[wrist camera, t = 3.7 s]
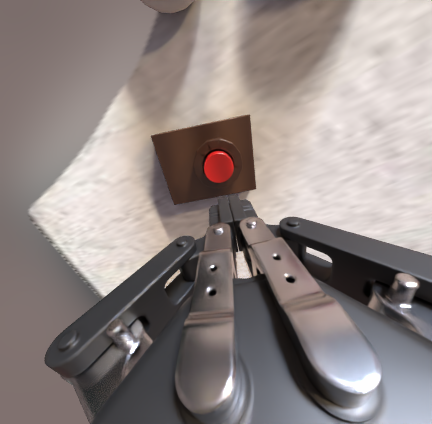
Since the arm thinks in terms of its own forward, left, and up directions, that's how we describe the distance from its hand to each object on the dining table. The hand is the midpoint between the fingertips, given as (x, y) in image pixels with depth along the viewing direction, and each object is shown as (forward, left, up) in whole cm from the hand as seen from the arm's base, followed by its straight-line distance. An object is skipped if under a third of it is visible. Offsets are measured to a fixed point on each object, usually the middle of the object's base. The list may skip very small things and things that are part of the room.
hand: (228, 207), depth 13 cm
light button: (0, 0, -14) cm, 14 cm away
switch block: (-2, 0, -18) cm, 18 cm away
